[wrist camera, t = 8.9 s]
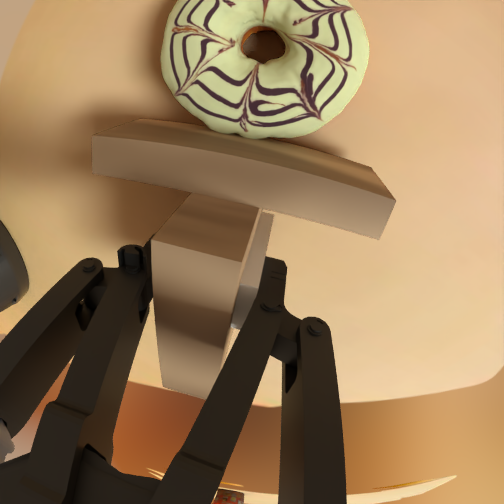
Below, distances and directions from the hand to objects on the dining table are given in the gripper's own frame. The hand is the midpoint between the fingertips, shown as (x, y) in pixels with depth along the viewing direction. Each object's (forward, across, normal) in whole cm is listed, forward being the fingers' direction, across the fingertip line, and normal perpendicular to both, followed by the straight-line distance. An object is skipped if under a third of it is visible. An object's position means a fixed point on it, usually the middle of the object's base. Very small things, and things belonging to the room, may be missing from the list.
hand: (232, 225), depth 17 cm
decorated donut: (+3, 0, +11) cm, 11 cm away
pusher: (+1, 0, -1) cm, 1 cm away
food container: (+3, +18, -145) cm, 146 cm away
